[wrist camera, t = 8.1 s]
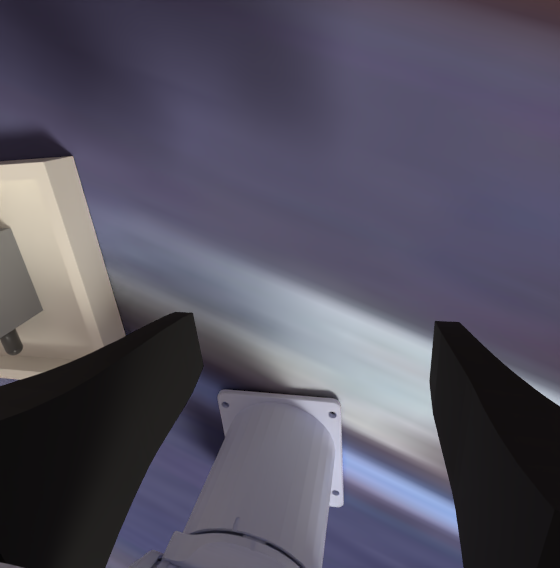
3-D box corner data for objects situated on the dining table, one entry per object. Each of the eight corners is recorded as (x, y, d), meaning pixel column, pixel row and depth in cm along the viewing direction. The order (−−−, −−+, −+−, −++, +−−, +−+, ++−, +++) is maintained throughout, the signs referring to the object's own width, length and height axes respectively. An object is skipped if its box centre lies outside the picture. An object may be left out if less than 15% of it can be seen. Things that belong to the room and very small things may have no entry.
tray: (135, 368, 27) (117, 388, 25) (-26, 356, 30) (-52, 373, 28) (72, 155, 21) (43, 162, 19) (-118, 169, 24) (-159, 176, 23)
